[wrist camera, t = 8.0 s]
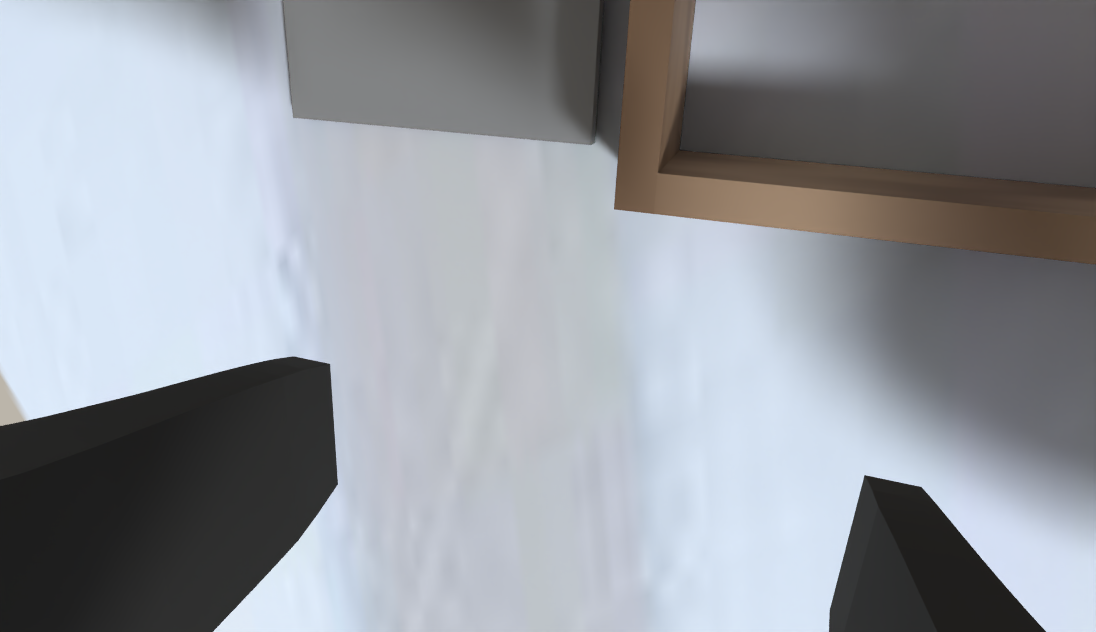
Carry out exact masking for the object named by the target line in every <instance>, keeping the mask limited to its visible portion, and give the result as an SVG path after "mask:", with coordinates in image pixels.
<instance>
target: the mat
mask: <svg viewBox="0 0 1096 632" xmlns="http://www.w3.org/2000/svg"><path fill="white" fill-rule="evenodd" d="M283 6H284V17H285V29H286V40H287V52H288V63H289V75H290V86H291V98H292V109H293V118H303V119H314V120H324V121H335V122H346V123H357V124H368V125H379V126H390V127H401V128H411V129H422V130H433V131H444V132H455V133H466V134H477V135H488V136H499V137H509V138H520V139H531V140H542V141H553V142H564V143H575V144H586V145H592V144H593V143H595V134H596V118H597V103H598V88H599V72H600V57H601V42H602V26H603V11H604V0H283Z"/></svg>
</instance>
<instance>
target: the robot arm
mask: <svg viewBox="0 0 1096 632" xmlns="http://www.w3.org/2000/svg"><path fill="white" fill-rule="evenodd" d="M337 485H338V480H337V465H336V450H335V434H334V419H333V404H332V389H331V373H330V364H327V363H323V362H318V361H313V360H308V359H303V358H298V357H287V358H279V359H273V360H268V361H263V362H259V363H254V364H250V365H246V366H242V367H238V368H234V369H230V370H226V371H222V372H218V373H214V374H211V375H207V376H203V377H199V378H196V379H192V380H188V381H184V382H181V383H177V384H173V385H170V386H166V387H162V388H158V389H155V390H151V391H147V392H144V393H140V394H136V395H132V396H128V397H124V398H120V399H116V400H112V401H108V402H104V403H100V404H96V405H91V406H87V407H83V408H79V409H75V410H71V411H67V412H63V413H59V414H55V415H51V416H46V417H42V418H37V419H33V420H28V421H23V422H19V423H14V424H9V425H4V426H0V632H213V631H214V630H215V629H216V628H217V627H218V626H219V625H220V624H221V623H222V621H223V620H224V619H225V618H226V617H227V616H228V615H229V614H230V613H231V612H232V611H233V610H234V609H235V608H236V607H237V606H238V605H239V604H240V603H241V601H242V600H243V599H244V598H245V597H246V596H247V595H248V594H249V593H250V592H251V591H252V590H253V589H254V588H255V587H256V586H257V585H258V584H259V582H260V581H261V580H262V579H263V578H264V577H265V576H266V575H267V574H268V573H269V572H270V571H271V570H272V568H273V567H274V566H275V565H276V564H277V563H278V562H279V561H280V560H281V559H282V558H283V557H284V556H285V554H286V553H287V552H288V551H289V550H290V549H291V548H292V547H293V546H294V544H295V543H296V542H297V541H298V540H299V539H300V537H301V536H302V535H303V533H304V532H305V530H306V529H307V528H308V526H309V525H310V524H311V522H312V521H313V520H314V518H315V517H316V516H317V514H318V513H319V511H320V510H321V508H322V507H323V505H324V504H325V502H326V501H327V499H328V498H329V496H330V495H331V493H332V492H333V491H334V489H335V488H336V486H337ZM829 632H1046V631H1045V630H1044V629H1043V628H1042V627H1041V626H1040V625H1039V624H1038V623H1037V621H1036V620H1035V619H1034V618H1033V617H1032V616H1031V615H1030V614H1029V613H1028V611H1027V610H1026V609H1025V608H1024V607H1023V606H1022V605H1021V604H1020V603H1019V601H1018V600H1017V599H1016V598H1015V597H1014V596H1013V595H1012V593H1011V592H1010V591H1009V590H1008V589H1007V588H1006V587H1005V585H1004V584H1003V583H1002V582H1001V581H1000V580H999V579H998V577H997V576H996V575H995V574H994V573H993V571H992V570H991V569H990V568H989V567H988V566H987V564H986V563H985V562H984V561H983V560H982V559H981V557H980V556H979V555H978V554H977V553H976V551H975V550H974V549H973V548H972V547H971V545H970V544H969V543H968V542H967V541H966V539H965V538H964V537H963V536H962V535H961V533H960V532H959V531H958V530H957V529H956V527H955V526H954V525H953V524H952V523H951V521H950V520H949V519H948V518H947V516H946V515H945V514H944V513H943V512H942V510H941V509H940V508H939V507H938V506H937V504H936V503H935V502H934V501H933V500H932V499H931V497H930V496H929V495H928V494H927V493H926V492H925V491H924V490H923V488H922V487H919V486H914V485H909V484H904V483H899V482H894V481H890V480H885V479H880V478H875V477H870V476H866V475H865V476H864V480H863V484H862V488H861V492H860V495H859V499H858V503H857V507H856V511H855V515H854V519H853V523H852V526H851V530H850V534H849V538H848V542H847V546H846V550H845V554H844V557H843V561H842V565H841V569H840V573H839V577H838V581H837V585H836V588H835V592H834V596H833V600H832V604H831V608H830V620H829Z"/></svg>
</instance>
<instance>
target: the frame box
mask: <svg viewBox="0 0 1096 632" xmlns="http://www.w3.org/2000/svg"><path fill="white" fill-rule="evenodd" d="M695 2H696V0H630V10H629V23H628V36H627V49H626V62H625V75H624V88H623V100H622V113H621V126H620V139H619V152H618V165H617V178H616V191H615V204H614V209H616V210H625V211H634V212H643V213H651V214H660V215H669V216H678V217H686V218H695V219H704V220H712V221H721V222H730V223H739V224H747V225H756V226H765V227H773V228H782V229H791V230H800V231H808V232H817V233H826V234H834V235H843V236H852V237H861V238H869V239H878V240H887V241H896V242H904V243H913V244H922V245H930V246H939V247H948V248H957V249H965V250H974V251H983V252H991V253H1000V254H1009V255H1018V256H1026V257H1035V258H1044V259H1053V260H1061V261H1070V262H1079V263H1087V264H1096V188H1089V187H1078V186H1067V185H1056V184H1045V183H1034V182H1023V181H1012V180H1001V179H990V178H979V177H968V176H957V175H946V174H935V173H924V172H913V171H902V170H891V169H880V168H869V167H858V166H847V165H836V164H825V163H814V162H803V161H792V160H781V159H770V158H759V157H748V156H737V155H726V154H715V153H704V152H693V151H682V150H680V141H681V132H682V122H683V113H684V104H685V95H686V85H687V76H688V67H689V58H690V49H691V39H692V30H693V21H694V12H695Z"/></svg>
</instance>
